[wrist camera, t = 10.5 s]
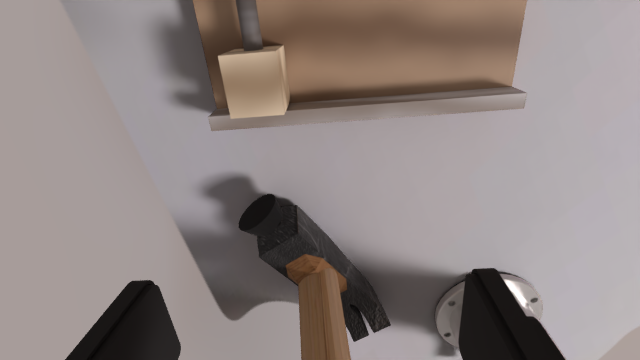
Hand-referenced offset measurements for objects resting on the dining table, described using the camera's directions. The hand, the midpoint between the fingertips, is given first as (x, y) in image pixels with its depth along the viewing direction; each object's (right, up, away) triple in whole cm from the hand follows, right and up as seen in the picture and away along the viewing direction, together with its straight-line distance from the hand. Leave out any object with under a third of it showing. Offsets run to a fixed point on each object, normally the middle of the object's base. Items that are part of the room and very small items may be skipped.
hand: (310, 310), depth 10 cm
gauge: (-5, +15, +16) cm, 23 cm away
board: (+3, +16, +18) cm, 24 cm away
